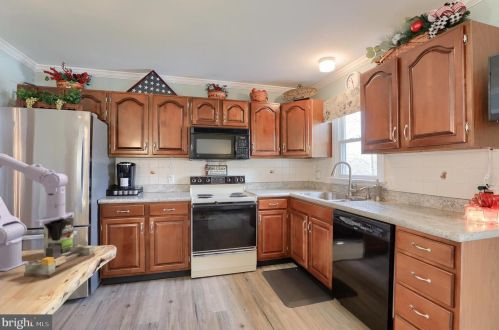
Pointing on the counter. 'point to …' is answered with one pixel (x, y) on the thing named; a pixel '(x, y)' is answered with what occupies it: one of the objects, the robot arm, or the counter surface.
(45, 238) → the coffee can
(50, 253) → the carriage
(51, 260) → the button
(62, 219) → the robot arm
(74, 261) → the rail board
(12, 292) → the counter surface
